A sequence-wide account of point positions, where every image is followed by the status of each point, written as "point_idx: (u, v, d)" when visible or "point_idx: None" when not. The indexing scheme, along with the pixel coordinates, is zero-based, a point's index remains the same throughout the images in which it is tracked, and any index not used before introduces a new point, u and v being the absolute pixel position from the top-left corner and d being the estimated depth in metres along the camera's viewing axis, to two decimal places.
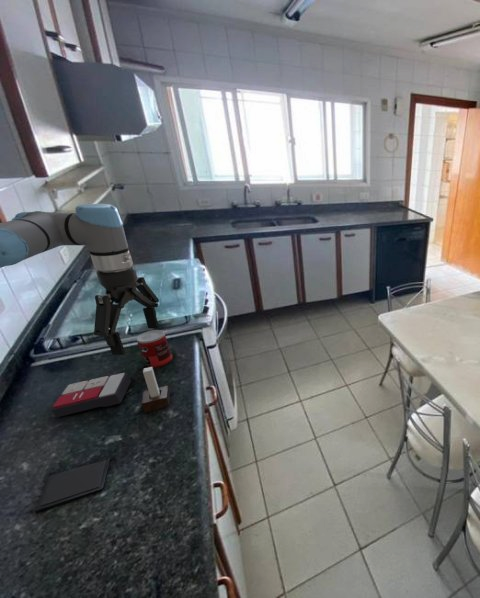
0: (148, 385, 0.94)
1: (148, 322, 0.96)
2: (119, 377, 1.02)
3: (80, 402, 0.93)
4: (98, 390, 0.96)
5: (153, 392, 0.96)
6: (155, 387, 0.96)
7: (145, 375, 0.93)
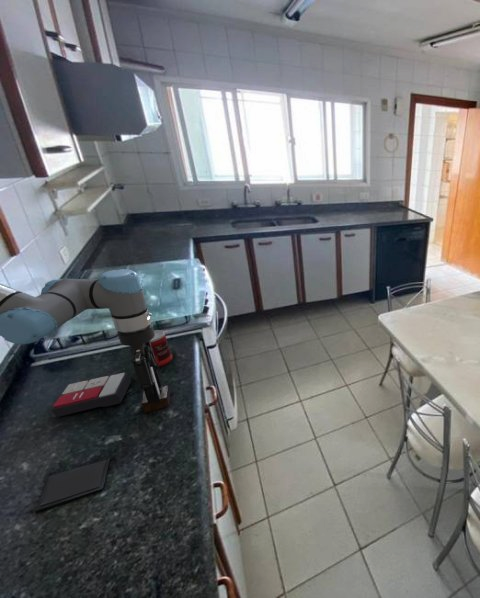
0: None
1: None
2: (119, 377, 1.02)
3: (80, 402, 0.93)
4: (98, 390, 0.96)
5: None
6: None
7: None
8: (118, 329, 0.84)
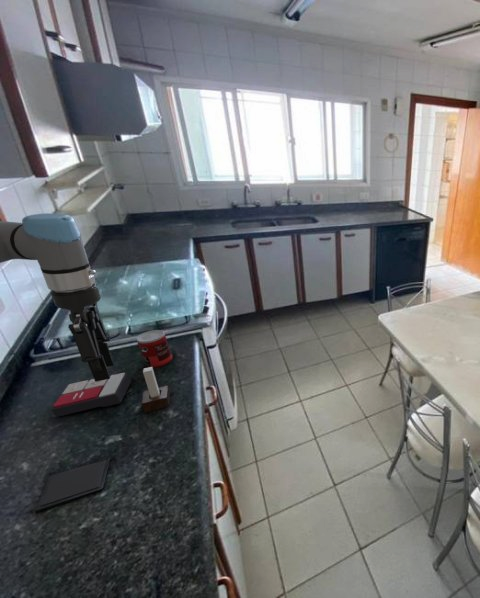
0: (148, 385, 0.94)
1: None
2: (119, 377, 1.02)
3: (80, 402, 0.93)
4: (98, 390, 0.96)
5: (153, 392, 0.96)
6: (155, 387, 0.96)
7: (145, 375, 0.93)
8: (50, 287, 0.68)
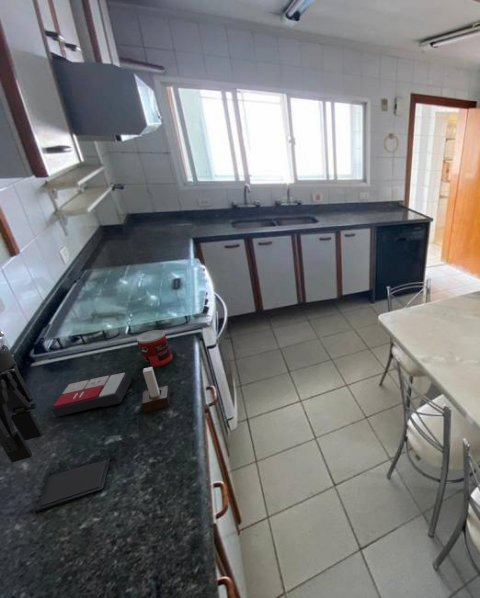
0: (148, 385, 0.94)
1: (24, 432, 0.68)
2: (119, 376, 1.02)
3: (80, 402, 0.93)
4: (98, 390, 0.96)
5: (153, 392, 0.96)
6: (155, 387, 0.96)
7: (145, 375, 0.93)
8: None
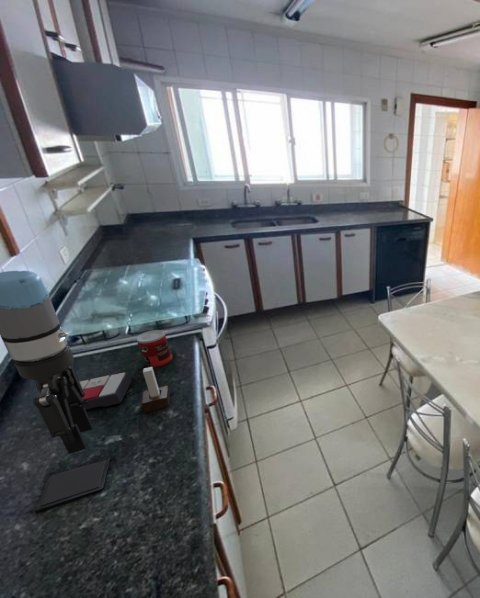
0: (148, 385, 0.94)
1: (77, 426, 0.73)
2: (119, 376, 1.02)
3: None
4: (98, 390, 0.96)
5: (153, 392, 0.96)
6: (155, 387, 0.96)
7: (145, 375, 0.93)
8: (12, 357, 0.59)
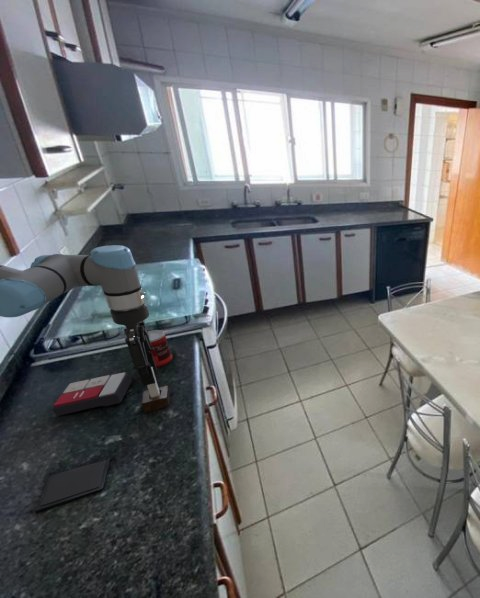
0: (148, 385, 0.94)
1: None
2: (119, 376, 1.02)
3: (80, 401, 0.93)
4: (98, 389, 0.96)
5: (153, 392, 0.96)
6: (155, 387, 0.96)
7: None
8: (111, 307, 0.81)
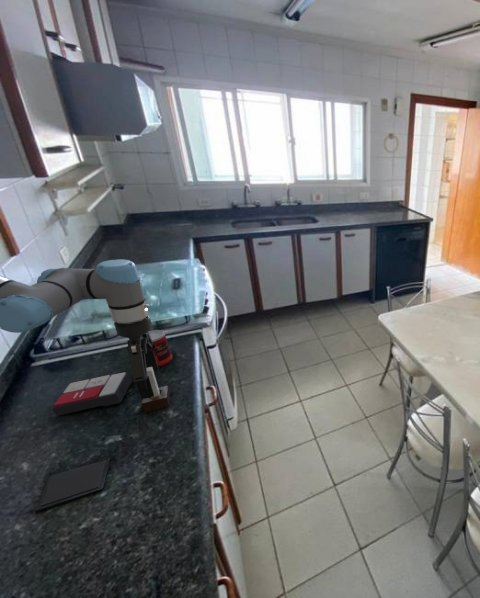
0: None
1: (148, 365, 0.99)
2: (120, 376, 1.02)
3: (80, 401, 0.93)
4: (99, 389, 0.97)
5: None
6: (155, 387, 0.96)
7: None
8: (115, 320, 0.83)
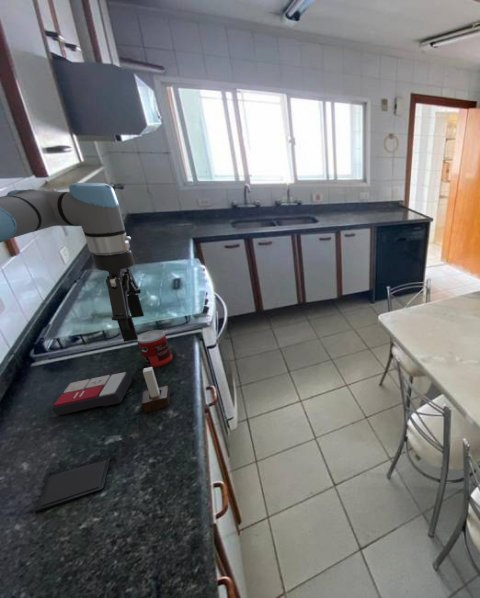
0: (148, 385, 0.94)
1: (132, 311, 0.92)
2: (120, 376, 1.02)
3: (80, 401, 0.93)
4: (99, 389, 0.97)
5: (153, 392, 0.96)
6: (155, 387, 0.96)
7: (145, 375, 0.93)
8: (92, 250, 0.75)
